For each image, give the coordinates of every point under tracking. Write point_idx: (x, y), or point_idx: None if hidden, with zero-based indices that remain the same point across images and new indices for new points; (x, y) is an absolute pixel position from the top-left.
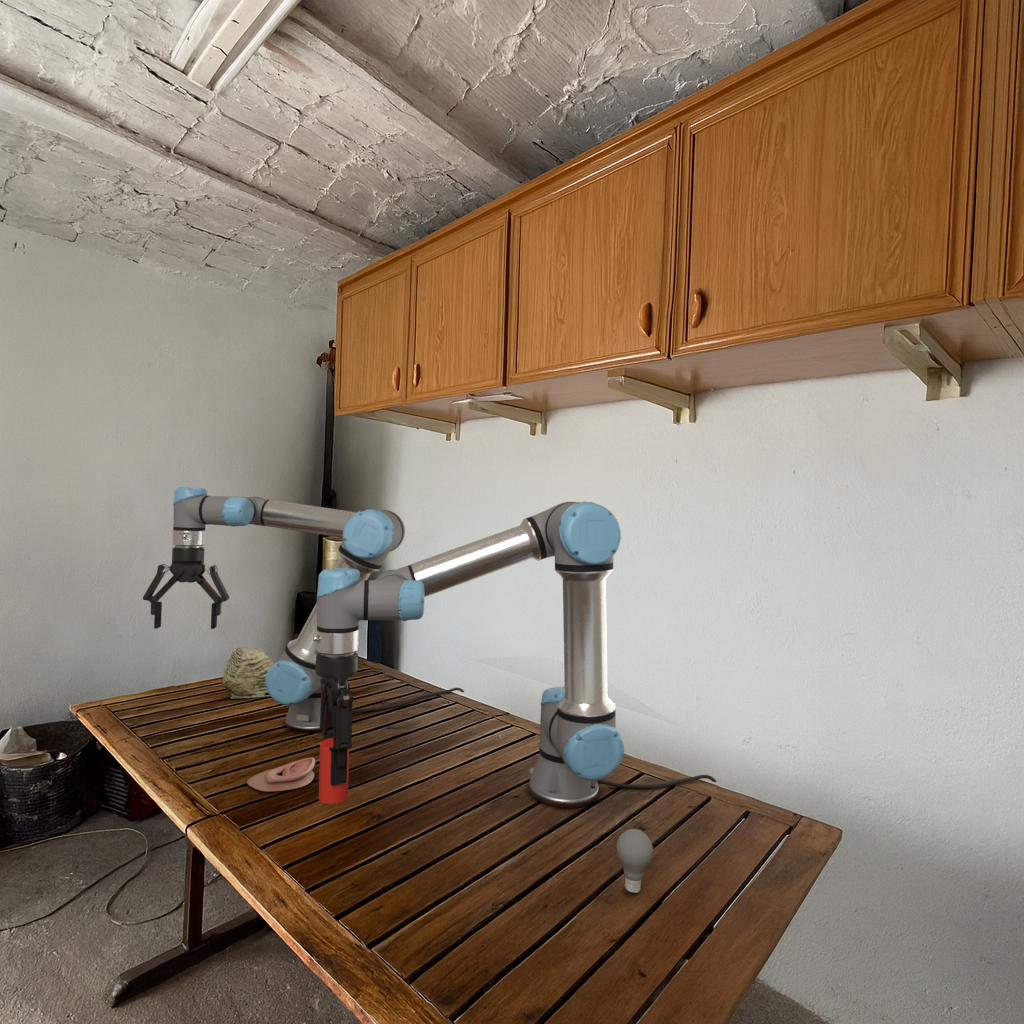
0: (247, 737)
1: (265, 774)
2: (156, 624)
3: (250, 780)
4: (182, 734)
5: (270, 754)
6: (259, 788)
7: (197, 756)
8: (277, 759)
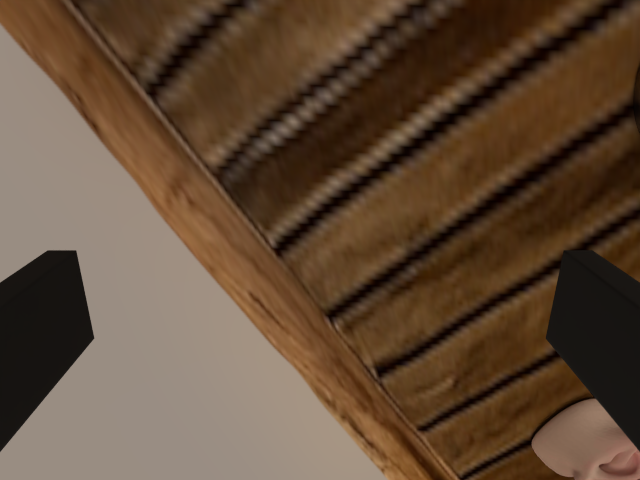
0: (516, 196)
1: (576, 467)
2: (68, 362)
3: (541, 452)
4: (326, 160)
5: None
6: (557, 472)
7: (406, 311)
8: None
